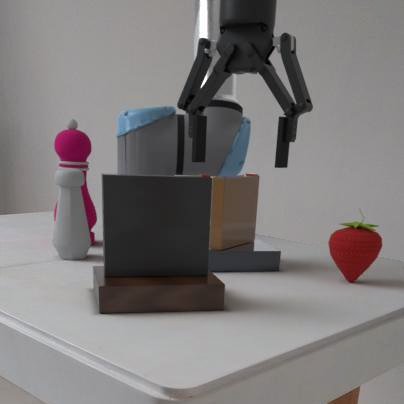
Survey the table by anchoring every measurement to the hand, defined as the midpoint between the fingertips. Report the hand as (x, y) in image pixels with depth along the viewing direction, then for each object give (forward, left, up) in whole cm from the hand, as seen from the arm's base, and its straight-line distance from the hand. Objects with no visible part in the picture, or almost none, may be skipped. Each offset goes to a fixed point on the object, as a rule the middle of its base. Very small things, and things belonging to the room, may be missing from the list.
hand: (238, 165), depth 82 cm
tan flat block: (0, 0, -12) cm, 12 cm away
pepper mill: (-18, -23, -15) cm, 33 cm away
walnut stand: (+19, -15, -15) cm, 28 cm away
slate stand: (0, 0, -15) cm, 15 cm away
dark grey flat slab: (+19, -15, -12) cm, 27 cm away
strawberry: (+12, +14, -15) cm, 24 cm away
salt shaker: (-6, -24, -15) cm, 29 cm away
